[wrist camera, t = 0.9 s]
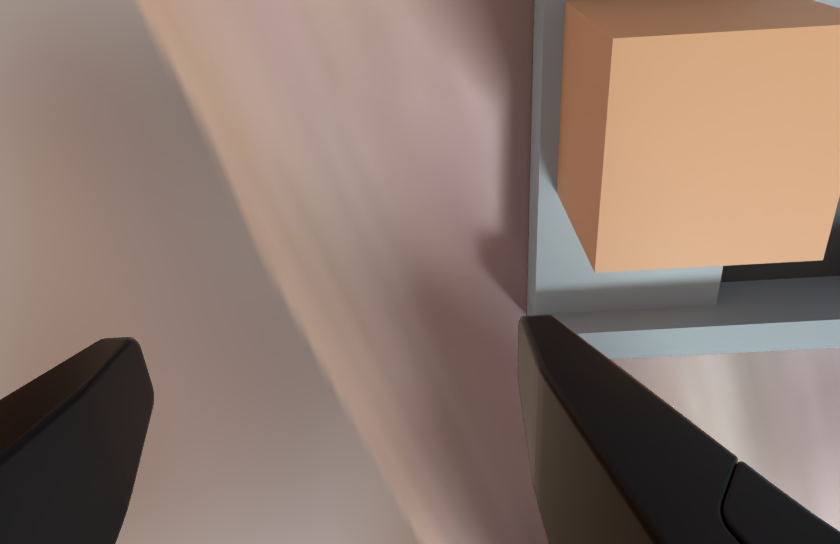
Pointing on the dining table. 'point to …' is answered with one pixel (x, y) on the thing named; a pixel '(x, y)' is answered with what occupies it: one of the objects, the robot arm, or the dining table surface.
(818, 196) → the block
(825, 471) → the dining table surface
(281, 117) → the dining table surface
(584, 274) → the box
